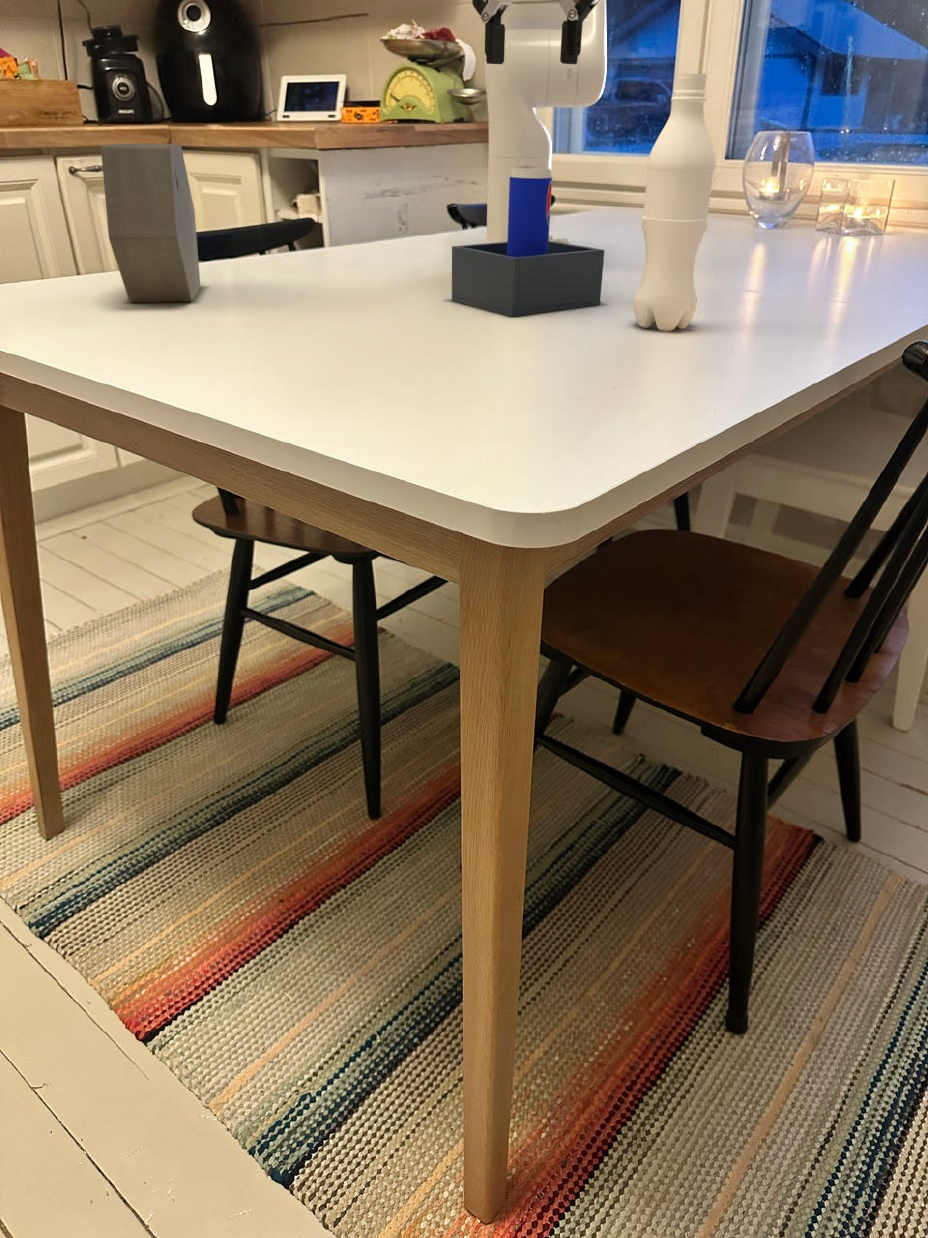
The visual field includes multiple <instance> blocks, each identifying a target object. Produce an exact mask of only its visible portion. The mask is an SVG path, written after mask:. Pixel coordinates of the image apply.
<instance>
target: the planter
mask: <svg viewBox="0 0 928 1238" xmlns="http://www.w3.org/2000/svg"><path fill="white" fill-rule="evenodd" d="M100 153H101V164H102V173H103V174H102V176H103V188H104V197H105V199H104V200H105V209H106V220H107V231H108V240H109V243H110V246H111V249H112V252H113V255H114V259H115V261H116V264H117V268H118V272H119V274H120V277H121V280H122V283H123V286H124V287H123V288H124V290H125V293H126V296H127V299H128V302H129V303H133V304H134V303H192V302H193V300H194V299H195V297H197V294H198V293H199V291H200V290H201V275H200V263H199V262H200V261H199V254H198V253H199V251H198V237H197V226H196V224H197V223H196V212H195V211H196V210H195V206H194V201H193V196H192V191H191V187H190V182H189V177H188V171H187V168H186V163H185V158H184V154H183V153H184V152H183V149H182V145H181V143H180V144H179V143H114V144H108V145H101V147H100Z"/></svg>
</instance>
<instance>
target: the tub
mask: <svg viewBox="0 0 928 1238" xmlns="http://www.w3.org/2000/svg"><path fill="white" fill-rule="evenodd" d="M604 260H605V249H602V248H596V247H590V246H583V245H578V244H572V243H569V244H566V243H560V242H554V241H549V243H548V254H545V255H534V256H524V257H511V256H507V242H498V243H486V242H485V243H477V244H465V245H464V244H463V245H453V246H451V301H452V302H455V303H459V304H462V305H466V306H470V307H474V308H477V309H481V310H485V311H489V312H493V313H496V314H500V315H504V316H507V317H511V318H514V317H522V316H529V315H535V314H543V313H550V312H557V311H564V310H572V309H579V308H586V307H593V306H600V305H601V298H602V297H601V296H602V287H603V286H602V285H603V274H604V273H603V272H604V262H605V261H604Z"/></svg>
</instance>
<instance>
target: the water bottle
mask: <svg viewBox="0 0 928 1238" xmlns="http://www.w3.org/2000/svg"><path fill="white" fill-rule="evenodd" d="M706 83H707V74H706V73H677V74H676V79H675V89H674V90H673V96H672V97H671V99H670V101H671V102H672V103H673V104H672V108H671V112H670V115H669V117H668V119H667V121H666V123H665V125H664V126H663V128H662V130H661V132H660V133H659V135H658V137H657V139H656V141H655V143H654V145H653V147H652V149H651V151H650V153H649V156H648V159H647V162H646V163H647V165H646V169H647V173H646V181H645V182H646V183H645V193H644V202H643V203H644V204H643V214H642V216H641V220H640V226H641V229H642V234H643V238H644V248H645V257H644V258H645V259H644V265H643V266H644V267H643V271H642V275H641V277H640V278H641V279H640V282H639V284H638V287H637V289H636V290H635V293H634V295H633V298H632V299H633V300H632V306H633V313H634V317H635V320H636V322H637V324H638V326H639V327H641V328H644V329H647V328H649V327H650V326H652V325H653V324H654V323H655V324H656V326H657V329H658V330H660V331H667V332H668V331H672V330H675V329H676V327H677V328H679V329H685V328H687V327H688V325H689V324H690V323H691V321H692V319H693V317H694V315H695V312H696V309H697V304H698V297H697V292H696V287H695V279H694V278H695V277H694V273H695V263H696V259H697V255H698V254H697V253H698V250H699V248H700V244H701V243H702V239H703V237H704V235H705V233H706V231H707V229H708V225H709V218H708V215H709V210H710V209H709V206H710V201H711V200H710V199H711V193H712V185H713V177H714V170H716V154H715V149H714V146H713V142H712V139H711V135H710V133H709V130H708V127H707V123H706V121H705V115H704V105H705V104H704V102H707V97H706V96H705V94H706V93H707V91H705V89H706Z"/></svg>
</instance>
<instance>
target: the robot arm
mask: <svg viewBox="0 0 928 1238" xmlns="http://www.w3.org/2000/svg"><path fill="white" fill-rule="evenodd" d="M471 4H472V6H473V8H474V9H475V11H476V13H478V15H479V16H480V20H481V22H482V24H483V23H484V60H483V61H484V62H483V66H484V67H483V68H484V69H483V70H484V81H485V91H486V99H487V112H488V113H487V115H488V117H487V118H488V153H487V154H488V155H487V158H488V159H487V162H488V163H487V199H486V201H487V202H486V241H485V244H486V243H498V242H507V240H508V211H509V183H510V174H511V171H512V168H513V167H545V168H550V169H551V170H552V159H553V143H552V138H551V135H550V133H549V131H548V129H547V127H546V126H545V125H544V124H545V123H543V121H541V119H540V118H539V116H538V115H537V111H536V110H537V109H544V108H587V107H591V106H593V105H595V104H596V103H597V102H598V101H599V100H600V98H601V97H602V95H603V93H604V90H605V85H606V80H607V69H608V68H607V66H608V65H607V64H608V62H607V61H608V55H607V52H608V50H607V48H608V47H607V45H608V43H607V0H471ZM549 241H554V242H560V243H566V244H570V241H569V239H568V238H557V239H554V238H553V235H549Z"/></svg>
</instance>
